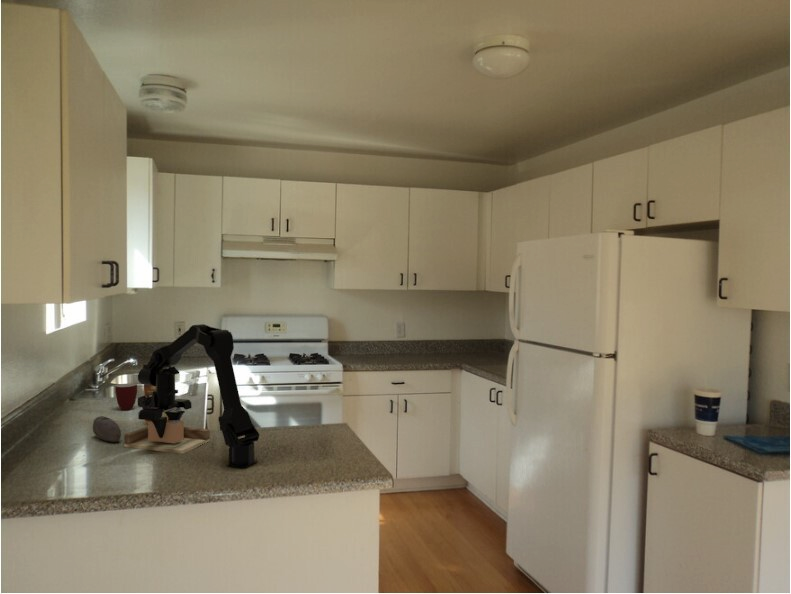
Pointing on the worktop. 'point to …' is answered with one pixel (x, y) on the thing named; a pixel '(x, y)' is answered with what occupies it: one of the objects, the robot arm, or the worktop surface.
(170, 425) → the terracotta block
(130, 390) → the mug
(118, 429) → the grey stone
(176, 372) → the robot arm
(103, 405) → the worktop surface
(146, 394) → the candy box
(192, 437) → the wooden structure
